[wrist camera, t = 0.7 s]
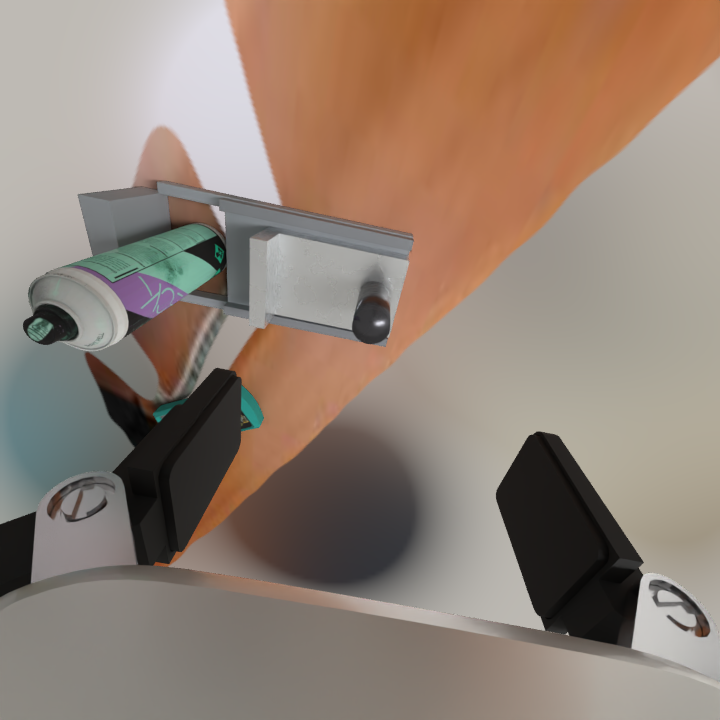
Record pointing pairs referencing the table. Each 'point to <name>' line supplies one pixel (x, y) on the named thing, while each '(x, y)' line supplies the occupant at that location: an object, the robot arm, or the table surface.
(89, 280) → the spray can
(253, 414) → the digital multimeter
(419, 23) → the table surface
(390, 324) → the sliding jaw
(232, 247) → the vise frame
